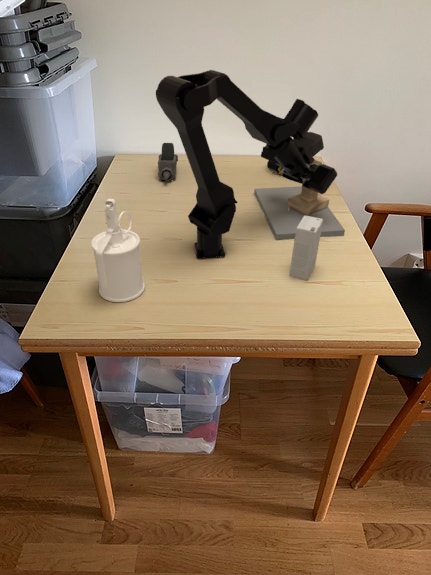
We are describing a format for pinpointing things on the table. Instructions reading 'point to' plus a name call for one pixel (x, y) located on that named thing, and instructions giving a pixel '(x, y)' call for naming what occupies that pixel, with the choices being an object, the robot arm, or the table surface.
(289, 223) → the board
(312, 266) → the skincare box
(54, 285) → the table surface
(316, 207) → the wooden block tower
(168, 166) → the caster wheel
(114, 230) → the smoke grenade
